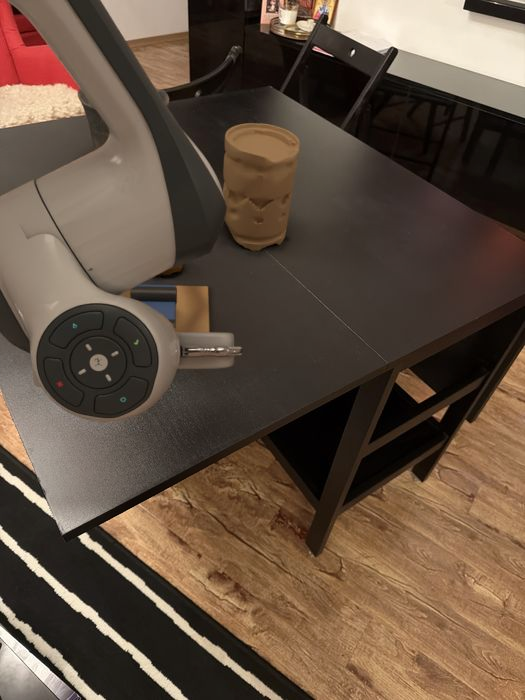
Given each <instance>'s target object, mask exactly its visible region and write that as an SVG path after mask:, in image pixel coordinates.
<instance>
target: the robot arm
mask: <svg viewBox="0 0 525 700" xmlns="http://www.w3.org/2000/svg"><path fill="white" fill-rule="evenodd" d="M6 1H7V2H8V3H9V4H10V5H12V6H13V7H14V8H16V9H17V10H18V11H19V12H20V13H21V14H22V15H23V16H24V17H25V18H26V19H27V20H28V21H29V22H30V24H31V25H32V26H33V27H34V28H35V30H36V31H37V32H38V34H39V36H41V38H42V39H43V41H44V42H45V44H46V45H47V46H48V47H49V49H50V50H51V51H52V53H53V54H54V55H55V57H56V58H57V59H58V61H59V62H60V63H61V65H62V66H63V68H64V69H65V71H67V73H68V75H69V76H70V77H71V79H72V80H73V81H74V82H75V84H76V85H77V87H78V88H79V89H81V90H82V92H83V93H84V94H85V96H86V97H87V98H88V100H89V101H90V103H91V104H92V105H93V107H94V108H95V109H96V111H97V112H98V113H99V115H100V116H101V117H102V119H103V120H104V121H105V123H106V124H107V126H108V128H109V131H110V134H109V138H108V140H107V141H106V143H105V144H104V145H103V146H101V147H100V148H98V149H97V150H95V149H94V150H93V151H91V152H89V153H87V154H85V155H83V156H81V157H79V158H77V159H75V160H72V161H71V162H69V163H67V164H65V165H63V166H60V167H59V168H56V169H55V170H53V171H51V172H49V173H46V174H44V175H42V176H41V177H39V178H37V179H36V178H33V179H31V180H29V181H28V182H25V183H23V184H21V185H19V186H17V187H14V188H13V189H11V190H8V191H7V192H5V193H3V194H1V195H0V334H1V335H2V336H3V337H4V338H5V339H6V341H8V342H9V343H10V344H11V345H13V346H14V347H16V348H18V349H20V350H21V351H23V352H25V353H28V354H29V356H30V363H31V370H32V378H33V384H34V386H35V387H38V388H41V389H42V390H43V392H44V393H45V394H46V396H47V397H48V398H49V399H50V400H51V401H52V402H53V403H54V404H55V405H56V406H58V407H59V408H60V409H62V410H63V411H65V412H66V413H69V414H70V415H73V416H74V417H77V418H80V419H81V420H86V421H89V422H96V423H111V422H112V423H113V422H117V421H123V420H128V419H130V418H134V417H137V416H138V415H140V414H142V413H144V412H146V411H147V410H148V409H150V408H151V407H153V406H154V405H155V404H156V403H158V401H160V400H161V398H162V397H163V396H164V395H165V393H166V392H167V391H168V389H169V388H170V386H171V384H172V382H173V381H174V379H175V376H176V374H177V371H178V370H217V369H227V368H230V367H233V366H234V364H235V356H242V354H243V352H244V351H243V348H242V346H235V335H234V333H232V332H229V331H228V332H226V331H225V332H223V331H221V332H219V331H214V332H213V331H209V332H176V330H175V328H174V326H173V325H172V323H171V322H170V321H169V320H168V319H167V318H166V317H165V316H164V315H163V314H161V313H160V312H158V311H157V310H155V309H153V308H152V307H150V306H149V305H147V304H145V303H143V302H140V301H138V300H135V299H132V298H128V297H123V296H119V295H121V294H123V293H125V292H126V291H128V290H130V289H132V288H134V287H136V286H138V285H139V284H140V285H142V284H143V283H145V282H147V281H149V280H151V279H153V278H154V277H156V276H158V274H160V273H162V272H164V271H166V270H167V269H169V268H171V269H174V268H176V267H178V266H181V265H183V266H184V265H185V264H187V263H188V264H189V263H190V262H192V261H194V260H197V259H199V258H202V257H204V256H206V255H208V254H210V253H211V252H212V251H213V249H214V246H215V244H216V242H217V241H218V239H219V236H220V233H221V231H222V228H223V225H224V222H225V221H224V219H225V215H226V211H227V206H226V203H225V201H224V195H223V187H222V185H221V183H220V181H219V178H218V176H217V174H216V172H215V171H214V169H213V167H212V166H211V164H210V162H209V161H208V159H207V158H206V156H205V155H204V153H203V152H202V150H200V148H199V147H198V146H197V145H196V144H195V142H194V141H193V140H192V139H191V137H190V136H189V135H188V134H187V133H186V132H185V131H184V130H183V128H182V127H181V126H180V124H179V122H178V121H177V120H176V118H175V117H174V115H173V113H172V112H171V111H170V109H169V106H168V107H167V106H166V104H165V103H164V101H163V100H162V98H161V96H160V95H159V93H158V92H157V90H156V89H157V88H156V86H155V85H154V84H153V82H152V80H151V79H150V77H149V76H148V74H147V73H146V71H145V69H144V67H143V66H142V65H141V63H140V61H139V60H138V58H137V56H136V54H135V53H134V51H133V50H132V48H131V47H130V45H129V43H128V42H127V40H126V38H125V37H124V36H123V34H122V32H121V30H120V29H119V28H118V26H117V25H116V23H115V21H114V19H113V17H112V16H111V15H110V13H109V11H108V10H107V8H106V6H105V5H104V3H103V2H102V0H6Z"/></svg>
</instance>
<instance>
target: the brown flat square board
mask: <svg viewBox="0 0 525 700" xmlns="http://www.w3.org/2000/svg"><path fill="white" fill-rule="evenodd" d="M176 287H177V304H176V332H210V304H209V286H208V285H176ZM119 296H123V297H128V298H130V290H128V291H126V292H125V293H123V294H121V295H119Z"/></svg>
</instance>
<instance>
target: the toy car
mask: <svg viewBox="0 0 525 700" xmlns="http://www.w3.org/2000/svg"><path fill="white" fill-rule="evenodd" d="M176 286H177V284H176V285H175V284H139V285H138V286H136V287H134V288H132V289H130V298H132V299H135V300H138V301H140V302H143V303H145V304H147V305H149V306H150V307H152V308H153V309H155V310H157V311H158V312H160V313H161V314H163V315H164V316H165V317H166V318H167V319H168V320H169V321H170V322H171V323H172V325H173V326H174V328H175V330H176V304H177V287H176Z"/></svg>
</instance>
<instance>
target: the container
mask: <svg viewBox="0 0 525 700" xmlns="http://www.w3.org/2000/svg"><path fill="white" fill-rule="evenodd" d="M300 148H301V141H300V139H299V138H298V136H297V135H296V134H294V133H293V132H291V131H290V130H288V129H285V128H283V127H280V126H277V125H273V124H268V123H255V122H248V123H247V122H246V123H241V124H236V125H234V126H232V127H230V128H228V129H227V131H226V132H225V135H224V150H225V153H224V156H223V170H222V171H223V173H222V175H223V176H222V177H223V181H224V182H223V187H222V191H223V195H224V201H225V203H226V206H227V211H226V215H225V219H224V222H225V224H226V226H227V228H228V229H229V232H230V233H231V235H232V238H233V240H234V241H235V242H236V243H238V245H241V246H243V248H245V249H249V250H250V251H253V252H256V251H257V252H259V251H261V250H262V249H264V248H266V247H268V246H271V245H274V244H276V245H278V246H280V245H282V243H283V241H284V240H285V238H286V234H287V227H288V222H289V216H290V210H291V204H292V198H293V190H294V186H295V180H296V174H297V167H298V158H299V155H300Z"/></svg>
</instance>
